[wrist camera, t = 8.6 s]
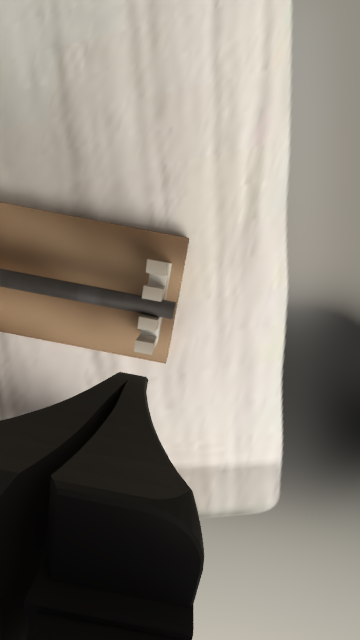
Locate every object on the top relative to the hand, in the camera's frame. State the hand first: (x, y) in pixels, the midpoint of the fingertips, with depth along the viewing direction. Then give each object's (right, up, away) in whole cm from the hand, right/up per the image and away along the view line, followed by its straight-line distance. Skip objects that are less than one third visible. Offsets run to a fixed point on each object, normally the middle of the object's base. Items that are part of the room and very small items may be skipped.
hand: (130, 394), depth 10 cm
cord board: (-12, +8, +9) cm, 17 cm away
